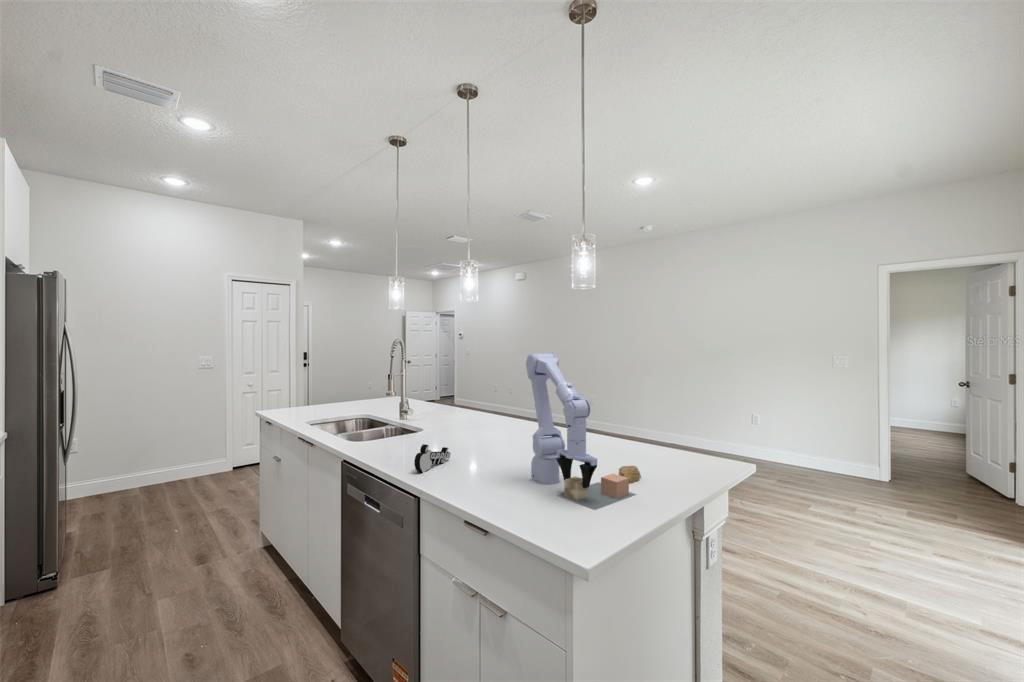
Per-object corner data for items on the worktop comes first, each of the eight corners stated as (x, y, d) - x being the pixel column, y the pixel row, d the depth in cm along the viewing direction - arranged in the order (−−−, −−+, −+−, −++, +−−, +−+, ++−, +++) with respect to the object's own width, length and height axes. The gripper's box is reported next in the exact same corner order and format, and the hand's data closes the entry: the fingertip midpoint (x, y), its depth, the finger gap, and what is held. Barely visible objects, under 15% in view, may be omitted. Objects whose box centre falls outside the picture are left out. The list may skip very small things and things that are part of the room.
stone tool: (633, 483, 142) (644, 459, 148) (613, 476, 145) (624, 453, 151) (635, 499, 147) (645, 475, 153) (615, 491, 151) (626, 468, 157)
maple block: (564, 495, 132) (564, 479, 132) (575, 492, 135) (575, 476, 135) (576, 500, 128) (576, 483, 128) (587, 496, 131) (588, 480, 131)
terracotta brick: (600, 493, 134) (600, 477, 134) (612, 489, 138) (612, 473, 138) (616, 498, 130) (616, 482, 130) (628, 494, 134) (628, 478, 134)
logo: (418, 473, 154) (421, 444, 156) (412, 472, 155) (416, 444, 157) (448, 470, 173) (451, 444, 175) (444, 469, 174) (446, 444, 176)
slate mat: (556, 497, 132) (556, 495, 132) (598, 484, 145) (598, 482, 145) (594, 512, 121) (594, 510, 121) (636, 497, 134) (636, 494, 134)
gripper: (550, 437, 135) (550, 480, 135) (586, 445, 124) (586, 493, 123) (566, 434, 139) (565, 476, 139) (602, 442, 128) (601, 488, 128)
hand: (576, 484), depth 132 cm, fingers open, 7 cm apart
